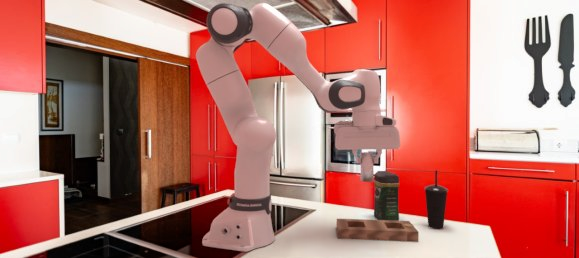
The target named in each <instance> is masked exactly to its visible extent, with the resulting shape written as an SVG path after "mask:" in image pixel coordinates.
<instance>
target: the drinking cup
mask: <svg viewBox="0 0 579 258" xmlns="http://www.w3.org/2000/svg"><path fill="white" fill-rule="evenodd" d="M424 192H425V193H424V194H425V202H426V203H425V205H426V215H427V216H426V217H427V224H428V227H429V228H431V229H434V230H443V229H444V226H445V216H446V206H447V196H448V192H449V189H448V188H446V187H444V185H443V186H442V185H439V184H438V170H434V184H430V185H427V186H424Z"/></svg>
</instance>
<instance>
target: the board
mask: <svg viewBox="0 0 579 258" xmlns="http://www.w3.org/2000/svg"><path fill="white" fill-rule="evenodd" d="M336 232H337V239H339V240H361V241H362V240H365V241H386V242H387V241H388V242H409V243H410V242H415V243H418V242H419V231H418V230H417V229H416V227H415V226H414V225H413V224H412V222H411V221H410V220H399V221H394V220H378V219H361V218H360V219H359V218H336Z"/></svg>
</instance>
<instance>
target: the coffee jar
mask: <svg viewBox="0 0 579 258" xmlns="http://www.w3.org/2000/svg"><path fill="white" fill-rule="evenodd" d="M373 178H374V181H373V183H374V207H373V209H374V210H373V217H374V218H375V220H394V221H400V213H399V212H400V209H399V203H400V202H399V189H400V188H399V187H400V176H399V175H397V174H396V173H393V172H390V171H388V170H377V171H376V172H375V173H374V176H373Z"/></svg>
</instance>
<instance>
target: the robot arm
mask: <svg viewBox="0 0 579 258" xmlns="http://www.w3.org/2000/svg"><path fill="white" fill-rule="evenodd" d="M206 16H207V17H206V27H207V31H208V33H209V35H210V39H209V40H208V41H207V42H205V43H203V44H202V45H200V47H198V49H197V50H196V53H195V59H196V61H197V62H196V63H197V65H198V69H199V71H200V75H201V76H202V78H203V79H202V80H204V82H205V85H206V87H207V89H208V90H209V92H210V95H211V96H212V98H213V100H214V102H215V105H216V106H217V109H218V110H219V113H220V115H221V117H222V119H223V121H224V124H225V127H226V129H227V131H228V133H229V135H230V137H231V139H232V142H233V143H234V145H236V147H237V149H236V161H235V166H234V167H235V168H234V177H233V178H234V192H233V193H232V194H230V197H228V199H227V202H226V203H227V205H228V207H227V208H226V209H224V210H223V211H222V212H220V213H219V214H218V215H217V216H216V217H215V218H214V219H213V220H212V222H211V223H210V230H209V231H208V232H207V233H206V234H205V235H204V236H203V238H202V241H201V244H202V246H204V247H209V248H215V249H223V250H230V251H231V250H232V251H238V252H246V253H247V252H250V251H252V250H254V249H258V248H263V247H265V246H268V245H270V244H272V243H273V242H275V240H276V235H275V233H274V230H273V224H272V218H271V216H272V215H271V213H272V194H271V193H270V191H271V189H270V187H271V185H270V183H271V181H270V179H271V178H270V171H271V162H272V157H273V152H274V145H275V142H276V139H277V132H276V128H275V127H274V125H273V124H272V123H271V122H270V121H269V120H268V119H267V118H266V117H265V118H264V117H262V116H259V114H258V112H257V110H256V106H255V104H254V100H253V95H252V92H251V89H250V88H249V86H248V84H247V82H246V80H245V78H244V76H243V73H242V72H241V71H242V70H241V69H240V67H239V65H238V63H237V62H236V59H235V55H234V53H235V52H236V51H237V50H238V49H239V48H240V47H242V45H244V44H245V42H246V41H247V39H250V40H253V41H256V42H257V43H258V44H260V45H261V46H262V48H263V49H265V50H266V51H267V52H268V53H269V54H270V55H271V56H273V58H275V60H277V61H278V62H279V63H281V64H282V65H283V66H284V67H286V68H287V69H288V70H289V72H291V73H292V74H294V76H295V77H296V78H297V79H298V80H299V81H300V82H301V83H302V84H303V86H305V87H306V88H307V90H308V91H309V92H310V93H311V94H312V95H313V98H314V100H315V102H316V105H317V106H318V108H319V109H320V110H321V111H322V112H325V113H329V114H331V113H332V114H333V113H336V112H341V111H347V110H348V109H349V110H350V109H351V112H352V120H344V121H343V120H339V121H337V122H336V123H335V124H334V126H333V133H334V135H335V140H334V146H335V147H334V148H335V149H337V150H338V151H340V150H343V151H344V150H346V151H347V150H350V151H351V150H352V154H353V156H354V157H355V163H356V164H360V165H361V158H360V157H358V155H357V154H358V150H375V151H376V153H377V154H376V155H375V157H374V156H373V165H374V164H379V158H380V157H381V155H382V153H383V150H398V149H399V148H400V147H401V137H400V131H399V129H398V127H396V125H397V120H396V119H395V118H393V117H389V116H387V115H383V114H382V113H381V112H382V111H381V107H380V102H381V95H382V94H381V82H380V77H379V74H378V73H377V72H376V71H375V70H372V69H369V68H358V69H355V70H354V71H353V72H351V73H350V74H348V75H345V76H344V77H342V78H340V79H336V80H334V81H328V80H326V79H325V78H324V77H323V75H321V73H320V72H319V71H318V70H317V69H316V68H315V67H314V66H313V65H312V63H311V62H310V61H309V58H308V55H307V39H306V38H305V36H304V35H303V34H302V32H301V31H300V29H299V28H298V27H297V26H296V25H295V24H294V23H293V22H292V21H291V20H290V19H289V18H288V17H286V15H284V13H282V12H280V11H279V10H278V9H277V8H275V7H273V6H272V5H270V4H268V3H267V2H260V3H257V4H255V5H254V6H253V7H252V8H251V9H250V10H249V9H248V8H247V7H243V6H240V5H235V4H231V3H227V2H226V3H225V2H224V3H223V2H222V3H218V4H216V5H214V6H213V7H212V8H211V9H210V10H209V12H208V14H207V15H206Z"/></svg>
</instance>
